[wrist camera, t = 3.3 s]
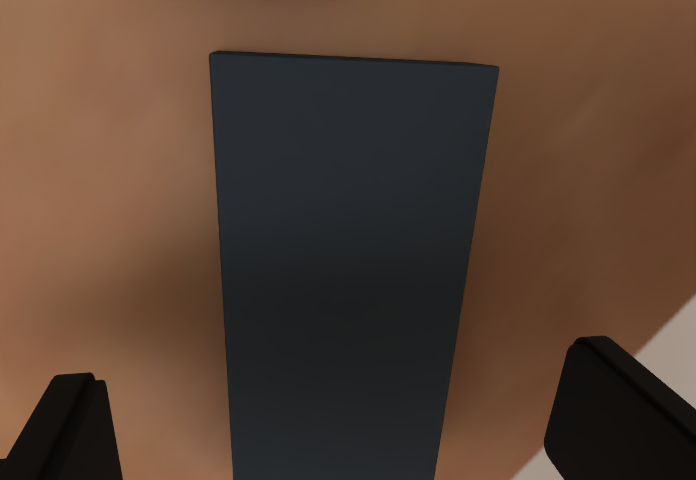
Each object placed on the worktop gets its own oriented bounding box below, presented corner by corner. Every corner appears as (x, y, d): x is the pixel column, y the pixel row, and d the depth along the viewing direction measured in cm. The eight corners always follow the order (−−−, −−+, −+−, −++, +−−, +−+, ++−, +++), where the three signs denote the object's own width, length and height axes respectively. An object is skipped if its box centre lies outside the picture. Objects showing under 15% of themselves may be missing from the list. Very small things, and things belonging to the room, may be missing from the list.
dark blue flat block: (469, 62, 13) (500, 66, 11) (417, 442, 17) (433, 484, 16) (215, 50, 11) (208, 52, 10) (237, 460, 16) (234, 507, 15)
